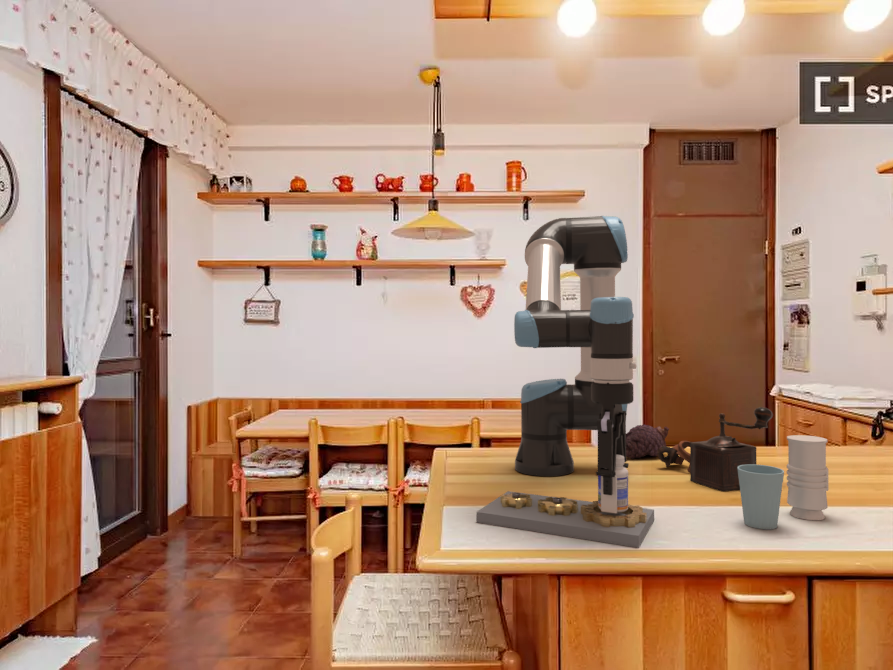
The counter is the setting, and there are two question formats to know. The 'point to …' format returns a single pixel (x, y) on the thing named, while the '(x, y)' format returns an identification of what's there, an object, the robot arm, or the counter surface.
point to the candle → (807, 476)
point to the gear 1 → (557, 506)
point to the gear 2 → (629, 520)
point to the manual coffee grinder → (724, 455)
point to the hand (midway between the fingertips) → (612, 506)
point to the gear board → (563, 522)
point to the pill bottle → (618, 485)
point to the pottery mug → (675, 454)
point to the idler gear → (516, 500)
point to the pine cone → (645, 441)
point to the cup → (760, 494)
